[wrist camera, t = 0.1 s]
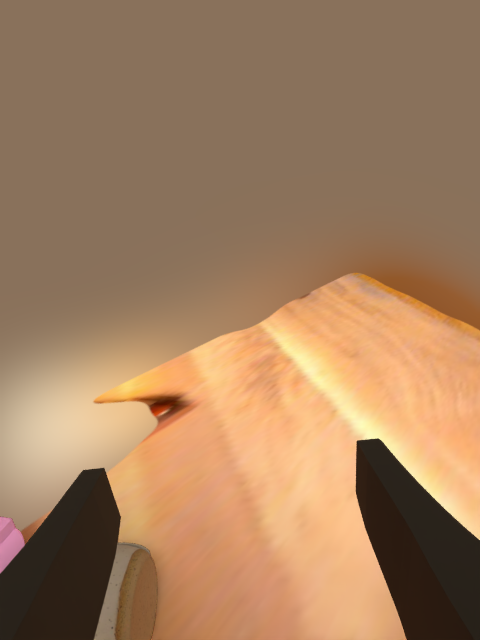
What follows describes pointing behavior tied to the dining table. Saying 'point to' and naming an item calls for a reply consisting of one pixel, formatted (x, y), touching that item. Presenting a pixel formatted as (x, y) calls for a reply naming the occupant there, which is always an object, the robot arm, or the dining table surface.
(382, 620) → the dining table surface
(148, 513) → the dining table surface
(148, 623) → the ceramic mug
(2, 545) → the toy chair
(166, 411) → the dining table surface
